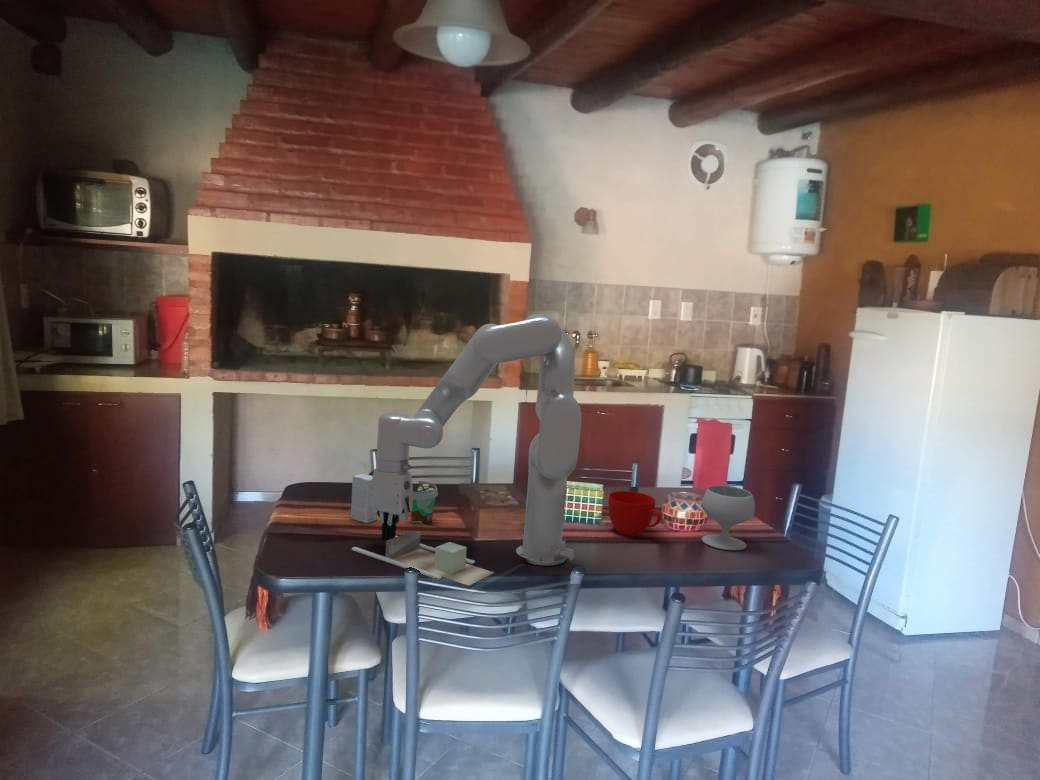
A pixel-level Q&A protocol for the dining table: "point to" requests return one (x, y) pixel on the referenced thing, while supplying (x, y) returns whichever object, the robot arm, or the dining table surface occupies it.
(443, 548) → the block
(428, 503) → the food container
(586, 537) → the dining table surface
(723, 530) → the chalice
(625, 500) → the ceramic cup
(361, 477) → the skincare box
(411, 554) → the beige piece
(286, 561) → the dining table surface
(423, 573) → the lane rails
